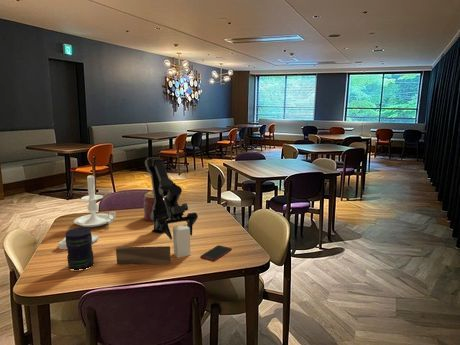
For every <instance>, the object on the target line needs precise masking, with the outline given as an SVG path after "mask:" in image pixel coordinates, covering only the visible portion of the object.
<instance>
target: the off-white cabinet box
mask: <svg viewBox="0 0 460 345" xmlns="http://www.w3.org/2000/svg"><path fill="white" fill-rule="evenodd" d="M172 235H173V236H172V240H173V241H172V242H173V254H174V256H175V257H176V258H178V259H179V258H183V257H188V256H191V254H192V253H191V252H192V251H191V236H190V228H189V227H188V226H187V224H184V225H183V224H182V225H176V226H173V227H172Z"/></svg>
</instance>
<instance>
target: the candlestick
mask: <svg viewBox="0 0 460 345" xmlns="http://www.w3.org/2000/svg"><path fill="white" fill-rule="evenodd" d="M86 179H87V193H88V195H85V196H82V197H80V200H82V201H88V202H89V203H88V205H87V211H88V212H89V213H90V214H85V215H82V216H80V217H79V216H78V217H77V218H75V219H74V220H73V223H74V224H75V225H77V226H80V227H82V228H97V227H101V226H104V225H105V224H106V225H107V224H113V223H114V220H115V218H116V217H117V216H116V213H117V212H116V211H109V212H108V213H97V212H98V211H99V209H100V208H99V205H98V203H97V200H100V199H103V198H104V195H102V194H96V191H95V190H96V189H95V188H96V183H95V180H96V179H95V176H94V175H90V174H89V175H88V176H87V177H86Z"/></svg>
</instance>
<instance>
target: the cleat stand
mask: <svg viewBox="0 0 460 345" xmlns="http://www.w3.org/2000/svg"><path fill="white" fill-rule="evenodd" d="M115 254H116V255H115V256H116V265H117V264H137V265H170V264H171V262H172V260H171V259H172V258H171V246H169V245H168V246H167V245H166V246H162V245H161V246H117V247H116V248H115Z"/></svg>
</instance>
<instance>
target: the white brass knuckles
mask: <svg viewBox="0 0 460 345" xmlns="http://www.w3.org/2000/svg"><path fill="white" fill-rule="evenodd" d="M91 235H92V244H93V243H95V242H97V241H99V239H100V237H99V236H98V235H96V234H93V233H91ZM59 248H60V249H67V246H66V236H65V237H64V238H62V240H61V241H59V242H58V249H59ZM60 249H59V250H60Z"/></svg>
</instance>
